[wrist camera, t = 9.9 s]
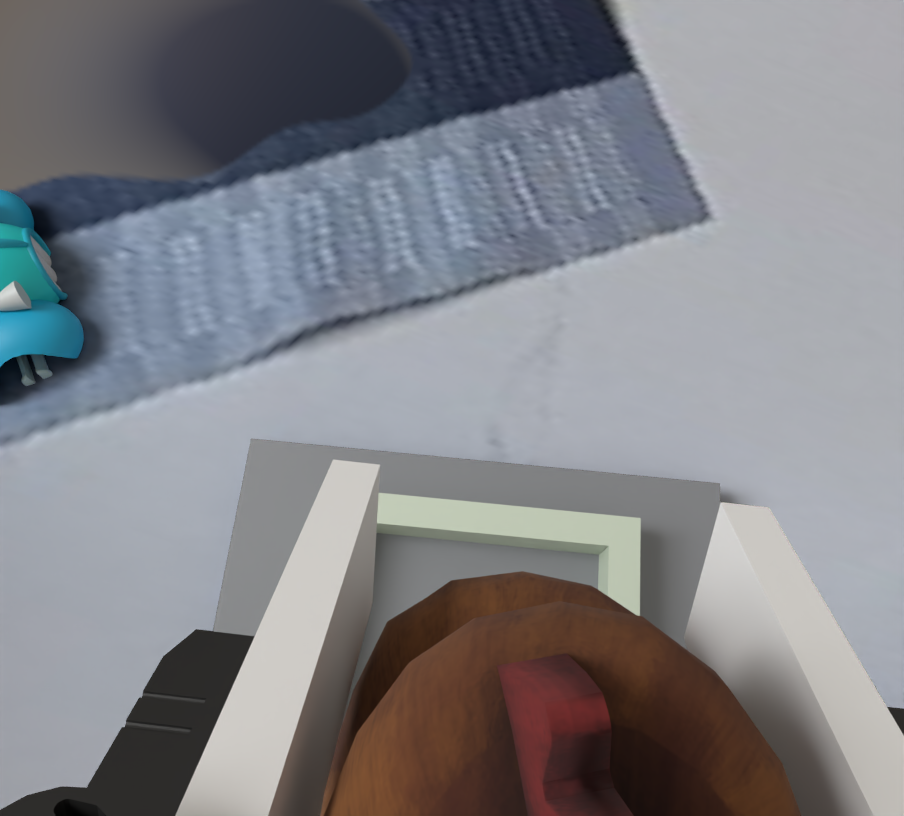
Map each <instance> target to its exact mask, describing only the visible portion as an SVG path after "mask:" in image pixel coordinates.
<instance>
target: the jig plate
mask: <svg viewBox="0 0 904 816" xmlns="http://www.w3.org/2000/svg"><path fill="white" fill-rule="evenodd" d="M333 460H342V461H351V462H360V463H369V464H379V465H380V477H379V494H378V512H377V530H376V548H375V566H374V584H373V602H372V606H371V610H370V614H369V618H368V622H367V626H366V630H365V634H364V638H363V642H362V646H361V650H360V654H359V658H358V661H357V665H356V669H355V673H354V677H353V681H352V685H351V689H350V693H349V697H348V701H347V705H346V709H345V713H344V717H345V714H346V711H347V708H348V705H349V702H350V699H351V696H352V693H353V690H354V688H355V686H356V684H357V682H358V680H359V678H360V676H361V674H362V672H363V670H364V668H365V665H366V663H367V661H368V659H369V657H370V655H371V653H372V651H373V649H374V647H375V645H376V643H377V641H378V639H379V637H380V635H381V633H382V631H383V629H384V627H385V625H386V623H387V621H389V620H390V619H392V618H394V617H395V616H397V615H399V614H400V613H402V612H404V611H405V610H407V609H408V608H410V607H412V606H413V605H415V604H417V603H418V602H420V601H422V600H423V599H425V598H426V597H428V596H429V595H431V594H432V593H434V592H435V591H437V590H438V589H439V588H441V587H442V586H444V585H445V584H447V583H448V582H450V581H451V580H458V579H466V578H474V577H481V576H489V575H497V574H505V573H512V572H520V571H524V572H529V573H534V574H539V575H543V576H548V577H553V578H558V579H562V580H567V581H572V582H577V583H581V584H586V585H591V586H593V587H595V588H596V589H598V590H599V591H601V592H602V593H604V594H605V595H607V596H608V597H610V598H611V599H613V600H614V601H616V602H617V603H619V604H620V605H622V606H623V607H625V608H626V609H628V610H629V611H631V612H632V613H634V614H635V615H638V616H643V617H644V618H645V619H647V620H648V621H649V622H651V623H652V624H653V625H655V626H656V627H657V628H659V629H660V630H661V631H662V632H664V633H665V634H666V635H668V636H669V637H670V638H672V639H673V640H674V641H676V642H677V643H678V644H680V645H681V646H682V647H684V648H685V649H686V650H688V649H687V646H686V642H685V639H684V635H685V632H686V628H687V624H688V621H689V617H690V613H691V610H692V606H693V602H694V599H695V595H696V591H697V588H698V584H699V580H700V577H701V573H702V569H703V566H704V562H705V558H706V555H707V551H708V547H709V544H710V540H711V536H712V533H713V529H714V525H715V522H716V518H717V514H718V511H719V507H720V483H710V482H700V481H689V480H679V479H668V478H658V477H647V476H637V475H626V474H616V473H606V472H595V471H585V470H574V469H564V468H553V467H543V466H532V465H522V464H511V463H501V462H490V461H480V460H470V459H459V458H449V457H438V456H428V455H417V454H407V453H396V452H386V451H375V450H365V449H355V448H344V447H334V446H323V445H313V444H302V443H292V442H281V441H271V440H260V439H251V441H250V446H249V452H248V457H247V462H246V467H245V472H244V477H243V482H242V487H241V492H240V497H239V502H238V507H237V512H236V517H235V522H234V527H233V532H232V537H231V542H230V547H229V552H228V557H227V562H226V567H225V572H224V577H223V582H222V587H221V592H220V597H219V602H218V607H217V613H216V618H215V623H214V628H213V631H214V632H222V633H231V634H240V635H248V636H255V635H256V632H257V630H258V628H259V626H260V623H261V621H262V619H263V617H264V614H265V612H266V610H267V608H268V605H269V603H270V601H271V599H272V596H273V594H274V592H275V590H276V587H277V585H278V583H279V580H280V578H281V576H282V574H283V571H284V569H285V567H286V565H287V562H288V560H289V558H290V556H291V553H292V551H293V549H294V547H295V544H296V542H297V540H298V538H299V535H300V533H301V531H302V529H303V526H304V524H305V522H306V520H307V517H308V515H309V513H310V511H311V508H312V506H313V504H314V502H315V499H316V497H317V495H318V492H319V490H320V488H321V486H322V483H323V481H324V479H325V477H326V474H327V472H328V470H329V468H330V465H331V463H332V461H333ZM344 717H343V721H344ZM343 721H342V724H343ZM341 727H342V725H341ZM340 730H341V729H340ZM323 798H324V796H323ZM322 803H323V800H322ZM321 809H322V804H321V808H320V812H319V816H320V815H321Z"/></svg>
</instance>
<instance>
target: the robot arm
mask: <svg viewBox="0 0 904 816" xmlns="http://www.w3.org/2000/svg"><path fill="white" fill-rule="evenodd" d="M379 477H380V465H379V464H369V463H360V462H351V461H342V460H333V461H332V463H331V465H330V468H329V470H328V472H327V474H326V477H325V479H324V481H323V483H322V486H321V488H320V490H319V492H318V495H317V497H316V499H315V502H314V504H313V506H312V508H311V511H310V513H309V515H308V517H307V520H306V522H305V524H304V526H303V529H302V531H301V533H300V535H299V538H298V540H297V542H296V544H295V547H294V549H293V551H292V553H291V556H290V558H289V560H288V562H287V565H286V567H285V569H284V571H283V574H282V576H281V578H280V580H279V583H278V585H277V587H276V590H275V592H274V594H273V596H272V599H271V601H270V603H269V605H268V608H267V610H266V612H265V614H264V617H263V619H262V621H261V623H260V626H259V628H258V630H257V632H256V635H255V636H248V635H240V634H231V633H222V632H214V631H205V630H197V629H196V630H195V631H194V632H193V633H191V634H190V635H189V636H188V637H187V638H185V639H184V640H183V641H182V642H180V643H179V644H178V645H177V646H176V647H174V648H173V649H172V650H171V651H169V652H168V653H167V654H166V655H165V656H163V658H162V660H161V661H160V663H159V665H158V666H157V668H156V670H155V672H154V673H153V675H152V677H151V678H150V680H149V682H148V684H147V685H146V687H145V689H144V690H143V696H142V698H139V699H138V701H137V702H136V704H135V706H134V708H133V709H132V711H131V713H130V714H129V716H128V718H127V720H126V725H125V727H122V728H121V730H120V732H119V733H118V735H117V737H116V738H115V740H114V742H113V744H112V745H111V747H110V749H109V751H108V752H107V754H106V756H105V757H104V759H103V761H102V763H101V764H100V766H99V768H98V769H97V771H96V773H95V775H94V776H93V778H92V780H91V781H90V783H89V785H88V787H87V788H80V787H58V788H54V789H50V790H46V791H42V792H38V793H35V794H31V795H27V796H25V797H23V798H21V799H20V800H18V801H16V802H14V803H12V804H10V805H9V806H7V807H5V808H3V809H1V810H0V816H319V812H320V808H321V804H322V800H323V796H324V793H325V789H326V785H327V781H328V777H329V773H330V769H331V765H332V761H333V757H334V753H335V749H336V745H337V741H338V737H339V733H340V729H341V725H342V721H343V717H344V713H345V709H346V705H347V701H348V697H349V693H350V689H351V685H352V681H353V677H354V673H355V669H356V665H357V661H358V658H359V654H360V650H361V646H362V642H363V638H364V634H365V630H366V626H367V622H368V618H369V614H370V610H371V606H372V602H373V584H374V566H375V548H376V530H377V512H378V494H379ZM684 639H685V642H686V646H687V649H688V651H689V652H690V653H692V654H693V655H694V656H696V657H697V658H698V659H700V660H701V661H702V662H704V663H705V664H706V665H707V666H709V667H710V668H711V669H713V670H714V671H715V672H716V673H717V674H718V675H719V677H720V678H721V679H722V680H723V681H724V683H725V684H726V685H727V686H728V688H729V689H730V690H731V692H732V693H733V695H734V696H735V697H736V699H737V700H738V702H739V703H740V704H741V706H742V707H743V709H744V710H745V711H746V713H747V714H748V716H749V717H750V718H751V720H752V721H753V723H754V724H755V725H756V727H757V728H758V730H759V731H760V733H761V734H762V735H763V737H764V738H765V740H766V741H767V742H768V744H769V745H770V747H771V748H772V749H773V751H774V752H775V754H776V755H777V756H778V758H779V759H780V761H781V762H782V764H783V767H784V769H785V772H786V775H787V777H788V780H789V783H790V786H791V788H792V791H793V794H794V797H795V799H796V802H797V805H798V808H799V810H800V813H801V816H904V709H900V708H891V707H887V706H886V705H885V703H884V701H883V700H882V698H881V696H880V694H879V693H878V691H877V689H876V688H875V686H874V684H873V683H872V681H871V679H870V678H869V676H868V674H867V672H866V671H865V669H864V667H863V666H862V664H861V662H860V661H859V659H858V657H857V656H856V654H855V652H854V650H853V649H852V647H851V645H850V644H849V642H848V640H847V639H846V637H845V635H844V634H843V632H842V630H841V628H840V627H839V625H838V623H837V622H836V620H835V618H834V617H833V615H832V613H831V611H830V610H829V608H828V606H827V605H826V603H825V601H824V600H823V598H822V596H821V595H820V593H819V591H818V589H817V588H816V586H815V584H814V583H813V581H812V579H811V578H810V576H809V574H808V573H807V571H806V569H805V567H804V566H803V564H802V562H801V561H800V559H799V557H798V556H797V554H796V552H795V551H794V549H793V547H792V545H791V544H790V542H789V540H788V539H787V537H786V535H785V534H784V532H783V530H782V529H781V527H780V525H779V523H778V522H777V520H776V518H775V517H774V515H773V513H772V512H771V510H770V508H769V507H760V506H751V505H742V504H733V503H724V502H721V503H720V507H719V511H718V514H717V518H716V522H715V525H714V529H713V533H712V536H711V540H710V544H709V547H708V551H707V555H706V558H705V562H704V566H703V569H702V573H701V577H700V580H699V584H698V588H697V591H696V595H695V599H694V602H693V606H692V610H691V613H690V617H689V621H688V624H687V628H686V632H685V635H684Z"/></svg>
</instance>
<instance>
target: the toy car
mask: <svg viewBox="0 0 904 816" xmlns="http://www.w3.org/2000/svg"><path fill="white" fill-rule="evenodd" d="M50 255H51V251H50V250H49V248H48V247H47V245H46V244H45V242H44V241H43V240H42V239H41V237H40V236H39V235H38V234H37V233H36V232H35V231H34V220H33V216H32V213H31V210H30V208H29V207H28V206H27V205H26V203H25V202H24V201H23V200H22V199H21V198H19V197H18V196H16V195H14V194H12V193H10V192H8V191H4V190H0V367H1V366H2V365H3V363H4V362H6V361H8V360H10V359H11V358H13V357H16V359H17V362H18V365H19V367H20V370H21V373H22V376H23V377H22V380H21V381H22V383H23V384H24V385H25V386H29V385H32V384H34V383H36V382H35V379H34V376H33V373H32V370H31V367H30V365H29V362H28V359H27V356H26V355H27V354H31V357H32V360H33V362H34V365H35V368H36V369H35V371H36V373H37V374H38V375H40V376H41V377H42V378H43V379H46V378H48V377H50V376H52V372H51V371H50V370H49V369H48V366H47V363H46V360H45V358H44V355H48V356H57V357H65V358H73V359H74V358H78V356H79V354H80V352H81V350H82V347H83V342H84V334H83V328H82V325H81V323H80V321H79V319H78V318H77V317H76V316H75V315H74V314H73V313H72V312H71V311H70V310H69V309H67V308H65V307H63V306H62V305H59V304H57V303H58V302H59V301H60V300H66V299H67V297H68V296H67V294H66V293H65V292H62V290H61V289H60V287H59V286H58V285H57V284H56V282H57V275H56V273H55V271H54V270H53V269H52V268H51V267H50V266H51V259H50V257H49V256H50Z"/></svg>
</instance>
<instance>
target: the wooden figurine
mask: <svg viewBox="0 0 904 816" xmlns="http://www.w3.org/2000/svg"><path fill="white" fill-rule="evenodd" d="M320 816H801V813H800V810H799V808H798V805H797V802H796V799H795V797H794V794H793V791H792V788H791V786H790V783H789V780H788V777H787V775H786V772H785V769H784V767H783V764H782V762H781V761H780V759H779V758H778V756H777V755H776V754H775V752H774V751H773V749H772V748H771V747H770V745H769V744H768V742H767V741H766V740H765V738H764V737H763V735H762V734H761V733H760V731H759V730H758V728H757V727H756V725H755V724H754V723H753V721H752V720H751V718H750V717H749V716H748V714H747V713H746V711H745V710H744V709H743V707H742V706H741V704H740V703H739V702H738V700H737V699H736V697H735V696H734V695H733V693H732V692H731V690H730V689H729V688H728V686H727V685H726V684H725V683H724V681H723V680H722V679H721V678H720V677H719V675H718V674H717V673H716V672H715V671H714V670H713V669H711V668H710V667H709V666H707V665H706V664H705V663H704V662H702V661H701V660H700V659H698V658H697V657H696V656H694V655H693V654H692V653H690V652H689V651H688V650H686V649H685V648H684V647H682V646H681V645H680V644H678V643H677V642H676V641H674V640H673V639H672V638H670V637H669V636H668V635H666V634H665V633H664V632H662V631H661V630H660V629H659V628H657V627H656V626H655V625H653V624H652V623H651V622H649V621H648V620H647V619H645V618H644V617H643V616H638V615H635V614H634V613H632V612H631V611H629V610H628V609H626V608H625V607H623V606H622V605H620V604H619V603H617V602H616V601H614V600H613V599H611V598H610V597H608V596H607V595H605V594H604V593H602V592H601V591H599V590H598V589H596V588H595V587H593V586H591V585H586V584H581V583H577V582H572V581H567V580H562V579H558V578H553V577H548V576H543V575H539V574H534V573H529V572H524V571H520V572H512V573H505V574H497V575H489V576H481V577H474V578H466V579H458V580H451V581H450V582H448V583H447V584H445V585H444V586H442V587H441V588H439V589H438V590H437V591H435V592H434V593H432V594H431V595H429V596H428V597H426V598H425V599H423V600H422V601H420V602H418V603H417V604H415V605H413V606H412V607H410V608H408V609H407V610H405V611H404V612H402V613H400V614H399V615H397V616H395V617H394V618H392V619H390V620H389V621H387V623H386V625H385V627H384V629H383V631H382V633H381V635H380V637H379V639H378V641H377V643H376V645H375V647H374V649H373V651H372V653H371V655H370V657H369V659H368V661H367V663H366V665H365V668H364V670H363V672H362V674H361V676H360V678H359V680H358V682H357V684H356V686H355V688H354V690H353V693H352V696H351V699H350V702H349V705H348V708H347V711H346V714H345V717H344V721H343V724H342V727H341V730H340V733H339V737H338V741H337V745H336V749H335V753H334V757H333V761H332V765H331V769H330V773H329V777H328V781H327V785H326V789H325V793H324V798H323V803H322V809H321V815H320Z"/></svg>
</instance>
